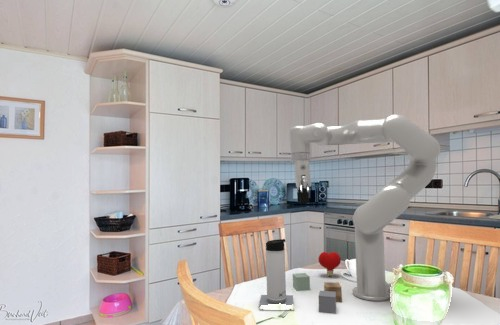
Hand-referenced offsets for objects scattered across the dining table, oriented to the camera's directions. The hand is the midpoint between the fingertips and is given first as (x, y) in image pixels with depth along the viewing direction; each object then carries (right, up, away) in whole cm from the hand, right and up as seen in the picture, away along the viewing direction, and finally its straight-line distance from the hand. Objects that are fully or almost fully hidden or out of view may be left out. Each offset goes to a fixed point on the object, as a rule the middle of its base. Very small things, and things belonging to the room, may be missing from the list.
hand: (303, 202), depth 122 cm
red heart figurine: (+14, -33, +13) cm, 38 cm away
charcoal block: (+4, -31, -22) cm, 38 cm away
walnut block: (+8, -31, -14) cm, 35 cm away
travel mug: (-11, -31, -17) cm, 37 cm away
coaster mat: (-12, -31, -17) cm, 37 cm away
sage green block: (-1, -32, -2) cm, 32 cm away
